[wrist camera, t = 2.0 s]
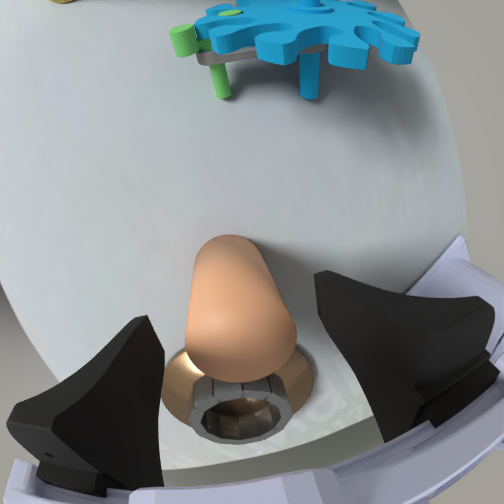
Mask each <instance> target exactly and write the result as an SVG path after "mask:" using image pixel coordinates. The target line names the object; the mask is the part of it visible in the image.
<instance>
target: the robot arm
mask: <svg viewBox="0 0 504 504" xmlns="http://www.w3.org/2000/svg"><path fill="white" fill-rule="evenodd" d="M314 280H315V289H316V298H317V308H318V315H319V317H320V319H321V321H322V323H323V325H324V327H325V329H326V331H327V333H328V334H329V336H330V337H331V339H332V340H333V342H334V343H335V345H336V346H337V348H338V349H339V351H340V352H341V354H342V355H343V356H344V358H345V359H346V361H347V362H348V364H349V365H350V367H351V369H352V370H353V372H354V374H355V375H356V377H357V379H358V381H359V383H360V385H361V387H362V389H363V392H364V394H365V396H366V398H367V400H368V402H369V405H370V407H371V409H372V412H373V414H374V416H375V419H376V421H377V424H378V426H379V429H380V432H381V434H382V437H383V440H384V443H385V444H383V445H381V446H378V447H376V448H374V449H372V450H370V451H367V452H365V453H363V454H360V455H358V456H355V457H353V458H351V459H348V460H345V461H342V462H340V463H337V464H334V465H331V466H328V467H326V468H322V469H305V470H299V471H295V472H288V473H282V474H277V475H273V476H268V477H263V478H259V479H252V480H247V481H240V482H233V483H225V484H217V485H205V486H189V487H188V486H187V487H164V482H163V477H162V470H161V462H160V453H159V438H158V416H159V406H160V399H161V392H162V385H163V378H164V370H165V351H164V349H163V347H162V345H161V343H160V341H159V339H158V337H157V335H156V333H155V331H154V329H153V327H152V324H151V322H150V320H149V318H148V316H147V315H145V316H140V317H135V318H134V319H132V320H131V321H130V322H129V323H128V324H127V325H126V326H125V327H124V328H123V329H122V330H121V331H120V332H119V333H118V334H117V335H116V336H115V337H114V338H113V339H112V340H111V341H110V342H109V343H108V344H107V345H106V346H105V347H104V348H103V349H102V350H101V351H100V352H99V353H98V354H97V355H96V356H95V357H94V358H92V359H91V360H90V361H89V362H88V363H87V364H86V365H84V366H83V367H82V368H81V369H79V370H78V371H77V372H75V373H74V374H73V375H71V376H70V377H68V378H67V379H65V380H64V381H62V382H61V383H59V384H58V385H56V386H54V387H53V388H51V389H49V390H47V391H45V392H43V393H41V394H39V395H37V396H34V397H32V398H29V399H27V400H24V401H22V402H19V403H17V404H16V405H15V406H14V408H13V410H12V412H11V414H10V416H9V418H8V420H7V422H6V424H7V428H8V430H9V432H10V434H11V435H12V436H13V437H14V439H15V440H17V442H18V443H19V444H20V445H22V446H23V447H24V448H25V449H26V450H27V451H28V452H29V453H31V454H32V455H33V456H34V457H35V458H37V459H38V460H39V461H40V463H39V467H38V466H36V465H34V464H32V463H30V462H27V461H24V460H21V459H18V458H16V459H15V462H14V465H13V468H12V471H11V474H10V477H9V480H8V484H7V488H6V491H5V495H4V499H3V502H4V503H5V504H430V503H429V500H430V499H432V498H434V497H435V496H437V495H438V494H439V493H441V492H443V491H444V490H445V489H447V488H448V487H450V486H451V485H452V484H454V483H455V482H456V481H458V480H459V479H460V478H462V477H463V476H464V475H466V474H467V473H468V472H469V471H470V470H472V469H473V468H474V467H475V466H476V465H478V464H479V463H480V462H481V461H482V460H483V459H484V458H486V457H487V456H488V455H489V454H490V453H491V452H492V451H493V450H494V449H495V448H496V449H499V450H502V451H504V283H503V282H501V281H499V280H498V279H496V278H495V277H493V276H491V275H490V274H488V273H486V272H485V271H483V270H481V269H479V268H478V267H476V266H474V265H473V264H471V261H470V257H469V253H468V250H467V246H466V243H465V239H464V237H463V236H461V235H459V236H457V238H456V239H455V240H454V241H453V243H452V244H451V245H450V246H449V247H448V249H447V250H446V251H445V252H444V253H443V254H442V256H441V257H440V258H439V259H438V260H437V261H436V262H435V264H434V265H433V266H432V267H431V268H430V269H429V270H428V271H427V272H426V274H425V275H424V276H423V277H422V278H421V279H420V280H419V281H418V282H417V283H416V284H415V285H414V286H413V287H412V288H411V289H410V290H409V291H408V292H407V293H406V294H400V293H395V292H391V291H387V290H383V289H380V288H376V287H373V286H370V285H367V284H364V283H361V282H358V281H356V280H353V279H350V278H348V277H345V276H343V275H340V274H337V273H335V272H332V271H328V270H326V271H323V272H319V273H316V274H314Z"/></svg>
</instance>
